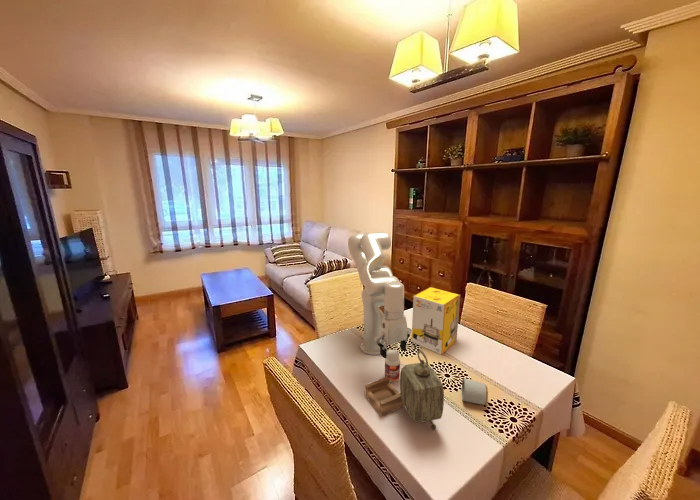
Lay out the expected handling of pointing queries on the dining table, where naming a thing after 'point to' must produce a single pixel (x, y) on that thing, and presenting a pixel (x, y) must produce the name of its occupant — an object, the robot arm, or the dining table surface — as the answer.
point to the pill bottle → (392, 365)
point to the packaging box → (435, 319)
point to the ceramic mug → (474, 392)
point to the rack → (383, 396)
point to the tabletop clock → (422, 391)
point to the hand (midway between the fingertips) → (393, 353)
